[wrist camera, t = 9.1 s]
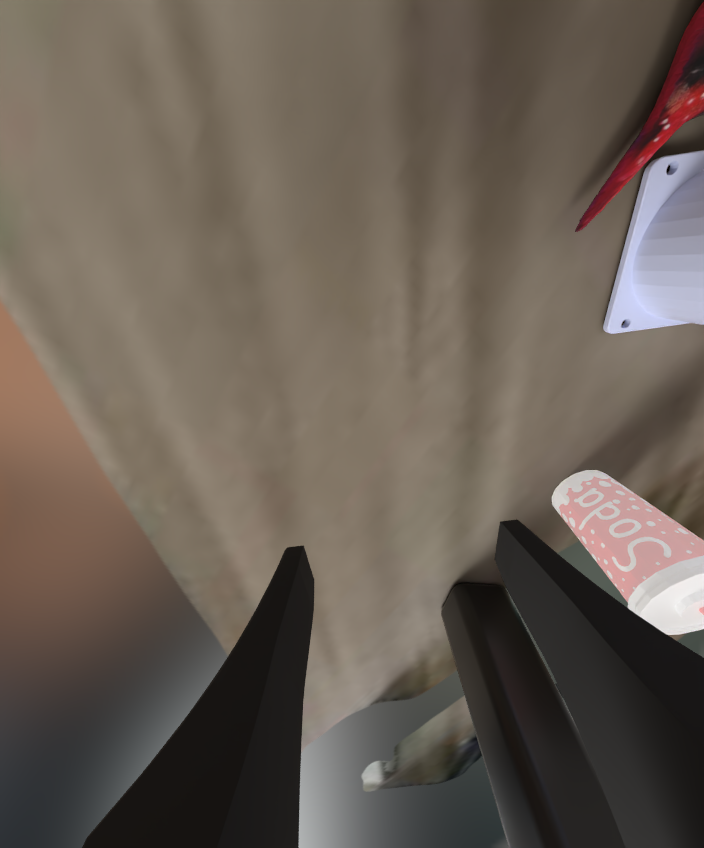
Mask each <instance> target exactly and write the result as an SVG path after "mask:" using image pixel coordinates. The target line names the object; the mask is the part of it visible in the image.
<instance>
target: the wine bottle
mask: <svg viewBox="0 0 704 848" xmlns="http://www.w3.org/2000/svg"><path fill="white" fill-rule="evenodd" d="M441 616H442V619H443V622H444V626H445V629H446V633H447V636H448V640H449V643H450V647H451V650H452V653H453V657H454V660H455V664H456V667H457V671H458V674H459V677H460V681H461V684H462V688H463V691H464V695H465V698H466V702H467V705H468V708H469V712H470V715H471V719H472V722H473V726H474V729H475V733H476V736H477V739H478V743H479V746H480V750H481V753H482V757H483V760H484V763H485V767H486V770H487V774H488V777H489V781H490V784H491V788H492V791H493V794H494V798H495V801H496V805H497V808H498V811H499V815H500V819H501V822H502V825H503V829H504V832H505V836H506V839H507V843H508V846H509V848H626V847H625V845H624V842H623V840H622V837H621V834H620V832H619V829H618V827H617V824H616V822H615V819H614V816H613V814H612V811H611V809H610V806H609V804H608V801H607V799H606V796H605V794H604V791H603V789H602V786H601V784H600V782H599V779H598V777H597V774H596V772H595V769H594V767H593V765H592V762H591V760H590V757H589V755H588V752H587V750H586V748H585V746H584V743H583V741H582V739H581V736H580V734H579V732H578V729H577V727H576V725H575V723H574V721H573V719H572V717H571V715H570V713H569V711H568V709H567V707H566V705H565V703H564V701H563V699H562V697H561V695H560V693H559V691H558V689H557V687H556V686H555V684H554V682H553V680H552V678H551V676H550V674H549V672H548V670H547V668H546V666H545V664H544V662H543V660H542V658H541V657H540V654H539V652H538V651H537V649H536V647H535V645H534V643H533V641H532V639H531V637H530V635H529V633H528V631H527V629H526V627H525V625H524V623H523V621H522V619H521V617H520V616H519V613H518V612H517V610H516V608H515V606H514V604H513V602H512V600H511V598H510V596H509V594H508V592H507V591H506V589H505V588H504V587H502V586H498V585H483V584H468V583H464V584H458V585H456V586H455V587H454V588H453V589H452V591H451V593H450V595H449V597H448V599H447V601H446V603H445V605H444V606H443V608H442V611H441Z"/></svg>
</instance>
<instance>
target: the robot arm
mask: <svg viewBox="0 0 704 848" xmlns="http://www.w3.org/2000/svg"><path fill="white" fill-rule="evenodd" d="M668 165H670V171H669V173H668V174H667V173H666V169H667V167H668ZM624 320H625V322H624V324H623V325H622V326H621V324H622V322H623V321H624ZM687 323H696V324H702V325H704V150H701V151H694V152H688V153H682V154H675V155H669V156H663V157H660V158H658V159H655V160H653V161H652V162H651V163H649V165H648V166H647V167H646V169H645V172H644V174H643V178H642V182H641V186H640V189H639V193H638V197H637V201H636V204H635V208H634V212H633V216H632V220H631V223H630V227H629V231H628V235H627V238H626V242H625V246H624V250H623V254H622V257H621V261H620V265H619V269H618V272H617V276H616V280H615V284H614V288H613V291H612V295H611V299H610V303H609V306H608V310H607V314H606V318H605V322H604V326H603V329H604V331H605V332H607V333H612V334H615V333H622V332H629V331H636V330H643V329H651V328H658V327H665V326H672V325H680V324H687ZM495 561H496V564H497V566H498V569H499V571H500V574H501V576H502V578H503V581H504V583H505V586H506V588H507V590H508V592H509V594H510V596H511V597H512V599H513V601H514V603H515V605H516V606H517V608H518V610H519V612H520V614H521V616H522V618H523V619H524V621H525V623H526V625H527V627H528V628H529V630H530V632H531V634H532V636H533V638H534V640H535V641H536V643H537V645H538V647H539V649H540V650H541V652H542V654H543V656H544V658H545V660H546V662H547V664H548V666H549V667H550V669H551V671H552V673H553V675H554V678H555V680H556V682H557V684H558V686H559V689H560V691H561V693H562V695H563V698H564V700H565V702H566V704H567V706H568V709H569V711H570V713H571V715H572V718H573V720H574V722H575V725H576V727H577V729H578V732H579V734H580V736H581V739H582V741H583V743H584V746H585V748H586V750H587V752H588V755H589V757H590V760H591V762H592V765H593V767H594V769H595V772H596V774H597V777H598V779H599V782H600V784H601V786H602V789H603V791H604V794H605V796H606V799H607V801H608V804H609V806H610V809H611V811H612V814H613V816H614V819H615V822H616V824H617V827H618V829H619V832H620V834H621V837H622V840H623V842H624V845H625V847H626V848H704V658H703V657H702V656H700V655H698V654H697V653H695V652H693V651H692V650H690V649H688V648H687V647H685V646H684V645H682V644H680V643H679V642H677V641H676V640H674V639H673V638H671V637H670V636H668V635H666V634H665V633H663V632H662V631H660V630H659V629H657V628H656V627H655V626H653V625H652V624H650V623H649V622H647V621H646V620H644V619H643V618H641V617H640V616H638V615H637V614H635V613H634V612H633V611H631V610H630V609H628V608H627V607H625V606H624V605H623V604H621V603H620V602H618V601H617V600H616V599H615V598H613V597H612V596H610V595H609V594H608V593H606V592H605V591H604V590H602V589H601V588H600V587H598V586H597V585H596V584H595V583H593V582H592V581H591V580H589V579H588V578H587V577H585V576H584V575H583V574H582V573H581V572H579V571H578V570H577V569H576V568H574V567H573V566H572V565H571V564H569V563H568V562H567V561H566V560H564V559H563V558H562V557H561V556H560V555H558V554H557V553H556V552H555V551H554V550H552V549H551V548H550V547H549V546H548V545H547V544H545V543H544V542H543V541H542V540H541V539H539V538H538V537H537V536H536V535H535V534H534V533H532V532H531V531H530V530H529V529H528V528H527V527H526V526H524V525H523V524H522V523H521V522H520V521H518V520H510V521H502V522H500V526H499V533H498V540H497V546H496V553H495ZM313 611H314V578H313V575H312V571H311V568H310V565H309V562H308V558H307V555H306V552H305V549H304V546H296V547H288V548H287V549H286V550H285V551H284V554H283V556H282V558H281V561H280V563H279V565H278V567H277V569H276V571H275V573H274V576H273V578H272V580H271V582H270V584H269V586H268V588H267V590H266V592H265V593H264V595H263V597H262V599H261V601H260V603H259V605H258V607H257V609H256V611H255V612H254V614H253V616H252V618H251V619H250V621H249V623H248V625H247V626H246V628H245V630H244V631H243V633H242V635H241V637H240V638H239V640H238V642H237V643H236V645H235V647H234V648H233V650H232V651H231V653H230V655H229V656H228V658H227V659H226V661H225V662H224V664H223V665H222V667H221V668H220V670H219V672H218V673H217V674H216V676H215V677H214V679H213V680H212V682H211V683H210V685H209V686H208V687H207V689H206V690H205V692H204V693H203V694H202V696H201V697H200V699H199V700H198V702H197V703H196V704H195V706H194V707H193V709H192V710H191V711H190V713H189V714H188V715H187V717H186V718H185V719H184V721H183V722H182V723H181V725H180V726H179V727H178V728H177V730H176V731H175V732H174V734H173V735H172V736H171V737H170V739H169V740H168V741H167V742H166V744H165V745H164V746H163V748H162V749H161V750H160V751H159V753H158V754H157V755H156V756H155V758H154V759H153V760H152V761H151V763H150V764H149V765H148V766H147V768H146V769H145V770H144V771H143V773H142V774H141V775H140V776H139V777H138V779H137V780H136V781H135V782H134V783H133V784H132V786H131V787H130V788H129V789H128V790H127V791H126V793H125V794H124V795H123V796H122V797H121V798H120V800H119V801H118V802H117V803H116V804H115V806H114V807H113V808H112V809H111V810H110V811H109V812H108V814H107V815H106V816H105V817H104V818H103V820H102V821H101V822H100V823H99V824H98V825H97V826H96V828H95V829H94V830H93V831H92V832H91V834H90V835H89V836H88V837H87V839H86V841H85V843H84V845H83V847H82V848H298V836H299V833H298V832H299V795H300V790H299V789H300V763H301V762H300V761H301V736H302V715H303V698H304V686H305V678H306V670H307V661H308V653H309V645H310V637H311V629H312V620H313Z"/></svg>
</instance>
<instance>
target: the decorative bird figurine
mask: <svg viewBox="0 0 704 848" xmlns="http://www.w3.org/2000/svg"><path fill="white" fill-rule="evenodd" d="M703 114H704V1H703V3H702V4H701V5H700V7H699V8H698V10H697V11H696V13H695V14H694V16H693V17H692V19H691V21H690V23H689V24H688V26H687V28H686V30H685V32H684V34H683V36H682V39H681V41H680V43H679V45H678V48H677V51H676V54H675V57H674V59H673V62H672V64H671V67H670V70H669V72H668V75H667V78H666V81H665V83H664V85H663V88H662V90H661V93H660V95H659V97H658V100H657V102H656V104H655V107H654V108H653V110H652V112H651V114H650V116H649V118H648V120H647V121H646V123H645V125H644V126H643V128H642V130H641V132H640V134H639V135H638V137H637V138H636V140H635V141H634V142H633V144H632V145H631V146H630V148H629V149H628V151H627V152H626V154H625V155H624V157H623V158H622V159H621V161H620V162H619V163H618V165H617V166H616V168H615V169H614V171H613V172H612V174H611V176H610V177H609V178H608V180H607V181H606V183H605V184H604V185H603V187H602V188H601V190H600V191H599V193H598V194H597V195H596V197H595V198H594V200H593V202H592V203H591V205H590V206H589V208H588V209H587V211H586V212H585V213H584V215H583V216H582V218H581V220H580V222H579V224H578V226H577V228H576V230H575V232H578V231H580V230H582V229H583V228H584V227H586V226H587V224H588V223H589V222H590V221H591V220H592V219H593V218H594V217H595V216H596V215H597V214H598V213H600V212H601V211H602V210H603V209H604V207H605V206H606V204H607V203H608V202H609V201H611V200H612V199H613V198H614V196H615V195H616V194H617V193H618V192H619V191H620V190H621V189H622V187H623V186H624V185H625V184H626V183H627V182H628V181H630V180H631V179H632V178H633V176H634V175H635V174H636V173H637V172H638V171H639V170H640V169H641V167H642V166H643V165H644V164H645V163H646V162H647V161H648V160H649V159H650V158H651V157H652V156H653V155H654V153H655V152H656V151H657V150H658V149H659V148H660V147H661V146H662V145H663V144H664V143H665V142H666V141H667V140H668V139H669V138H670V137H671V136H672V135H673V133H674V132H675V131H676V130H677V129H678V128H680V127H681V126H682V125H683V124H684V123H685V122H687V121H689V120H691V119H693V118H695V117H698V116H700V115H703Z"/></svg>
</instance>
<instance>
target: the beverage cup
mask: <svg viewBox="0 0 704 848" xmlns="http://www.w3.org/2000/svg"><path fill="white" fill-rule="evenodd" d="M552 505H553V506H554V508H555V509H556V510H557V512H558V513H559V514H560V515H561V517H562V518H563V519H564V521H565V522H566V523H567V524H568V526H569V527H570V528H571V530H572V531H573V532H574V533H575V535H576V536H577V537H578V539H579V540H580V541H581V543H582V544H583V545H584V546H585V548H586V549H587V550H588V551H589V553H590V554H591V555H592V557H593V558H594V559H595V561H596V562H597V563H598V564H599V566H600V567H601V568H602V570H603V571H604V572H605V573H606V575H607V576H608V577H609V579H610V580H611V581H612V582H613V584H614V585H615V586H616V587H617V589H618V590H619V592H620V593H621V594H622V595H623V597H624V598H625V599H626V601H627V602H628V609H630V610H631V611H633V612H634V613H635V614H637V615H638V616H640V617H641V618H643V619H644V620H646V621H647V622H649V623H650V624H652V625H653V626H655V627H656V628H657V629H659V630H660V631H662V632H663V633H665V634H666V635H675V634H683V633H688V632H692V631H697V630H702V629H704V541H703V540H702V539H700V538H699V537H697V536H696V535H695V534H693V533H692V532H690V531H689V530H687V529H686V528H684V527H683V526H681V525H680V524H679V523H677V522H676V521H674V520H673V519H671V518H670V517H668V516H667V515H665V514H664V513H662V512H661V511H660V510H658V509H657V508H655V507H654V506H652V505H651V504H649V503H648V502H646V501H645V500H644V499H642V498H641V497H639V496H638V495H636V494H635V493H633V492H632V491H630V490H629V489H627V488H626V487H625V486H623V485H622V484H620V483H619V482H617V481H616V480H614V479H613V478H611V477H610V476H609V475H607V474H606V473H603V472H601V471H598V470H585V471H582V472H579V473H575V474H573V475H571V476H570V477H568V478H566V479H565V480H563V481H562V482H561V483H560V484H559V485H558V486H557V488H556V489H555V491H554V493H553V495H552Z"/></svg>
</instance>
